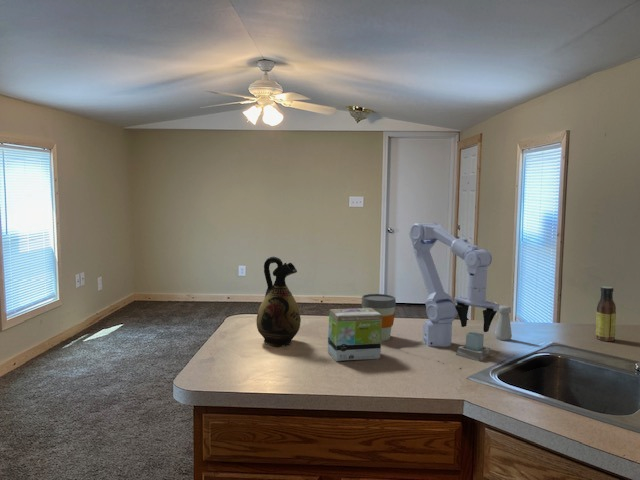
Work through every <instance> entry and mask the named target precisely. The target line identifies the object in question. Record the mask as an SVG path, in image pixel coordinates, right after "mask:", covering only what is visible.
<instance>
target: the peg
mask: <svg viewBox="0 0 640 480" xmlns="http://www.w3.org/2000/svg"><path fill="white" fill-rule="evenodd" d="M484 335H485V334H484V333H480V332H476V331H470V332H467V333H466V335H465V344H466V349H469V350H473V351H477V352H478V351H481V350H483V346H484V340H485V339H484V337H485V336H484Z"/></svg>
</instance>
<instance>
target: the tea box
mask: <svg viewBox="0 0 640 480" xmlns="http://www.w3.org/2000/svg"><path fill="white" fill-rule="evenodd" d="M381 332H382V315H381V314H380V313H378V312H377V311H375V310H374V309H372V308H363V307H362V308H361V307H360V308H359V307H358V308H330V309H329V312H328V332H327V333H328V334H327V353H328V354H329V355H330V356H331V357H332V358H333V359H334V361H335V362H342V361H354V360H355V361H357V360H361V361H362V360H379V359H381V352H382V351H381V348H382V341H381Z"/></svg>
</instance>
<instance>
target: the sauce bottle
mask: <svg viewBox="0 0 640 480" xmlns="http://www.w3.org/2000/svg"><path fill="white" fill-rule="evenodd" d="M614 291H615V290H614V287H613V286H608V285H607V286H605V285H603V286H600V299H599V301H598V304H597V307H596V316H595V317H596V319H595V320H596V322H595V336H596V337H595V338H596V339H598V340H600V341H601V342H602V341H604V342H614V341H615V339H616V338H615V337H616V322H617V312H616V310H617V306H616V303H615V301H614V298H613V295H614V294H613V293H614Z"/></svg>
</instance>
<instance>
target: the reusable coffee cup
mask: <svg viewBox="0 0 640 480" xmlns="http://www.w3.org/2000/svg"><path fill="white" fill-rule="evenodd" d="M396 303H397V301H396V297H395V296H394V295H391V294H386V293H385V294H381V293H368V294H363V295H362V298H361V306H362V308H372V309H374V310H375V311H377V312H378V313H380V314H381V315H382V332H381V342H385V341H388V340H390V338H391V333H392V327H393V326H394V322H395V321H394V320H395V315H396V313H395V308H396V306H397V304H396Z"/></svg>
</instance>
